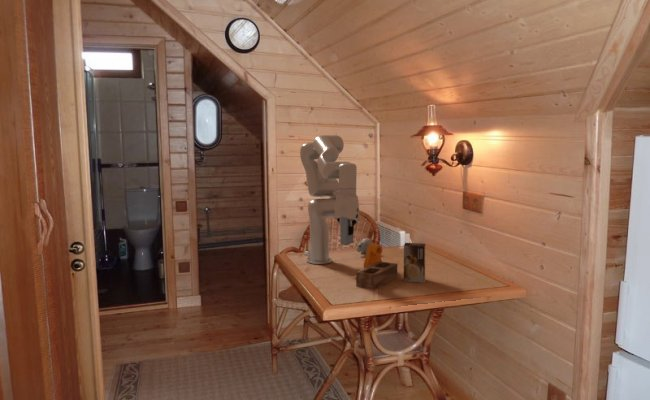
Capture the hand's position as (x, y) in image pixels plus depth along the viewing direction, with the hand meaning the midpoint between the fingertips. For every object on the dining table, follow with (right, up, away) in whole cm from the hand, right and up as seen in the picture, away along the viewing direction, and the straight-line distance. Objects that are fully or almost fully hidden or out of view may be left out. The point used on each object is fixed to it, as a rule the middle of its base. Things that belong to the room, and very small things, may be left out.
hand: (347, 233), depth 218 cm
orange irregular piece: (+15, -18, +21) cm, 31 cm away
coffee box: (+30, -21, +2) cm, 36 cm away
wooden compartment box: (+13, -21, +1) cm, 25 cm away
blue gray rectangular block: (0, -4, +1) cm, 4 cm away
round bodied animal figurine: (+11, -15, +50) cm, 53 cm away
